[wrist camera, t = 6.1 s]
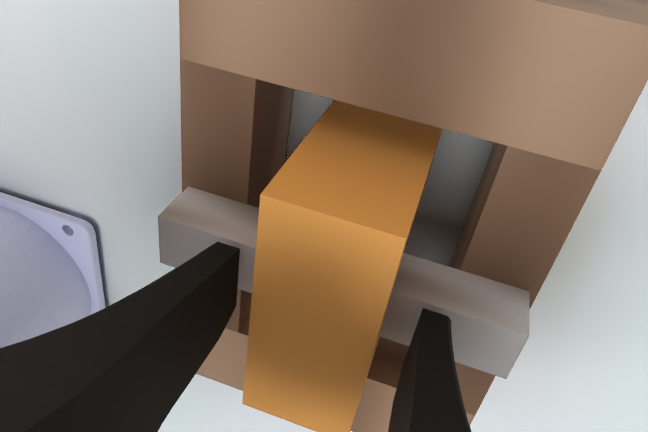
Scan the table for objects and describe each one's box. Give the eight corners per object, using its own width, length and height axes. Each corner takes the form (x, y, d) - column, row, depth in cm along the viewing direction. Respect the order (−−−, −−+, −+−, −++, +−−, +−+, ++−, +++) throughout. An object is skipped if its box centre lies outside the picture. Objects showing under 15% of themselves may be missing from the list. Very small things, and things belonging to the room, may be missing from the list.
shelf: (221, 314, 23) (162, 403, 19) (238, -92, 14) (134, -69, 10) (457, 397, 21) (442, 511, 18) (646, -5, 12) (692, 58, 9)
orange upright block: (307, 278, 19) (242, 403, 15) (338, 95, 15) (260, 194, 11) (389, 305, 19) (346, 442, 15) (443, 123, 15) (406, 238, 10)
